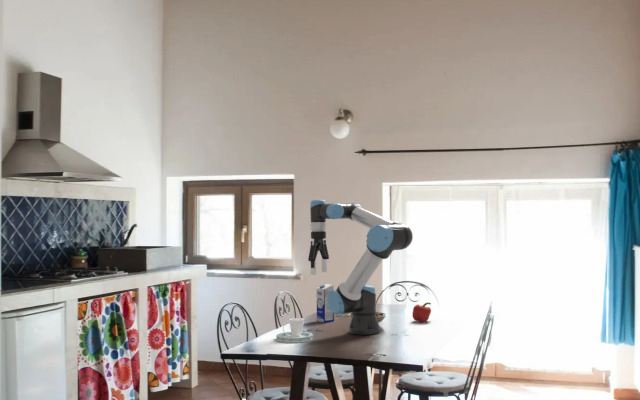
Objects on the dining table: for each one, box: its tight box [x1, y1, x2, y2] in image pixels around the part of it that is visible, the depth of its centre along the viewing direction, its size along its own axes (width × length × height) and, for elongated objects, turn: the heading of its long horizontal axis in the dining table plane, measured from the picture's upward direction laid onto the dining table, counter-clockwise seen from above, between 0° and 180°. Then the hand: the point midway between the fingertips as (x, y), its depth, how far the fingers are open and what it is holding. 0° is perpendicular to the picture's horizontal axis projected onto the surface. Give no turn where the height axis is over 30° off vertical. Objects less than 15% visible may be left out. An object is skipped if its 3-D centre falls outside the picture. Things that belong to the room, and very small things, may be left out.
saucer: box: [275, 331, 314, 344], centre depth 303 cm, size 17×17×2 cm
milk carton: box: [315, 283, 335, 324], centre depth 353 cm, size 7×7×20 cm
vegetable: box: [412, 302, 432, 323], centre depth 346 cm, size 11×10×10 cm
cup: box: [282, 317, 305, 337], centre depth 306 cm, size 7×10×8 cm
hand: (319, 273), depth 324 cm, fingers open, 13 cm apart
